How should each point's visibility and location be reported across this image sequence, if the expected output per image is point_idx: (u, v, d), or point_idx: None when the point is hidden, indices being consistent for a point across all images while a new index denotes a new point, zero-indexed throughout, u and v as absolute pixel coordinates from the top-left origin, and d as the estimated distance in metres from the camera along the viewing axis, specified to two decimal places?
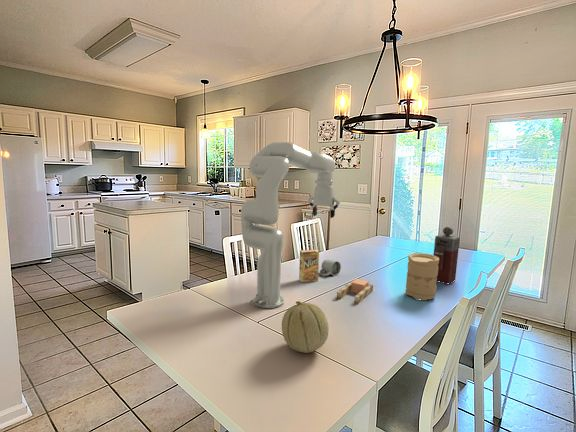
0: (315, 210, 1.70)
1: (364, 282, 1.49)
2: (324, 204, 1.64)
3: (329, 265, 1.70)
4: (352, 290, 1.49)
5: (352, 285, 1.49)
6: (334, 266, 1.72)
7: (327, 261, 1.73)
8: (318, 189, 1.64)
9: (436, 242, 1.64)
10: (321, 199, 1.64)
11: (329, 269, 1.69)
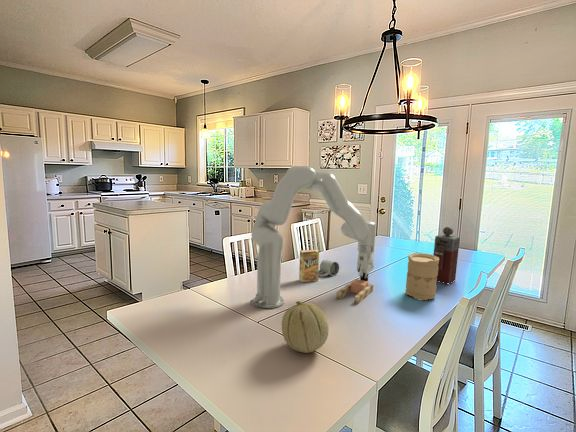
0: None
1: (364, 282, 1.49)
2: (371, 269, 1.53)
3: (327, 265, 1.69)
4: (352, 290, 1.49)
5: (352, 285, 1.49)
6: (332, 266, 1.71)
7: (325, 261, 1.72)
8: (369, 255, 1.49)
9: (436, 242, 1.64)
10: (370, 265, 1.51)
11: (327, 269, 1.69)
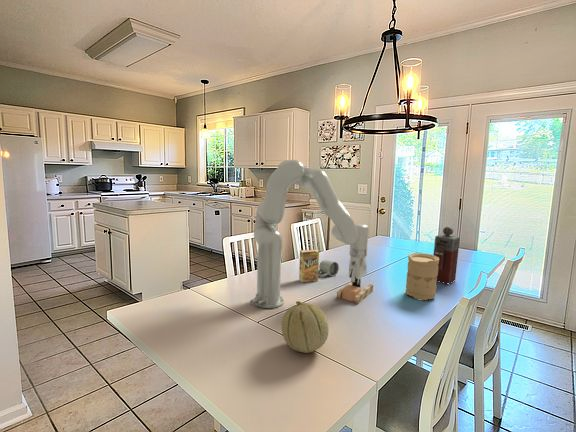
0: None
1: (356, 288, 1.41)
2: (364, 275, 1.46)
3: (327, 265, 1.69)
4: (343, 297, 1.41)
5: (343, 292, 1.41)
6: (332, 266, 1.71)
7: (325, 261, 1.72)
8: (362, 260, 1.42)
9: (436, 242, 1.64)
10: (363, 270, 1.44)
11: (327, 270, 1.69)
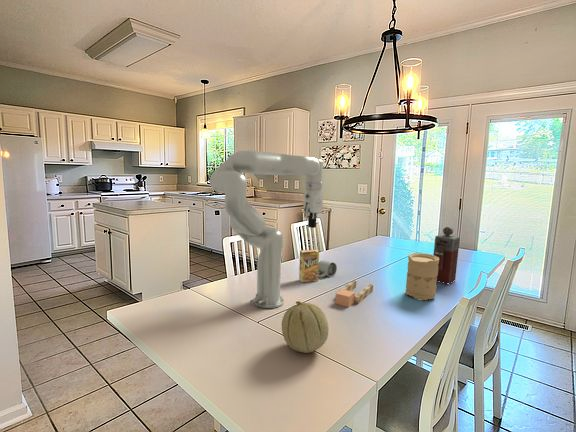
0: None
1: (350, 293, 1.36)
2: (319, 210, 1.47)
3: (325, 266, 1.68)
4: (337, 302, 1.36)
5: (337, 296, 1.36)
6: (330, 267, 1.70)
7: (323, 262, 1.71)
8: (316, 194, 1.43)
9: (436, 242, 1.64)
10: (318, 205, 1.45)
11: (325, 270, 1.68)
